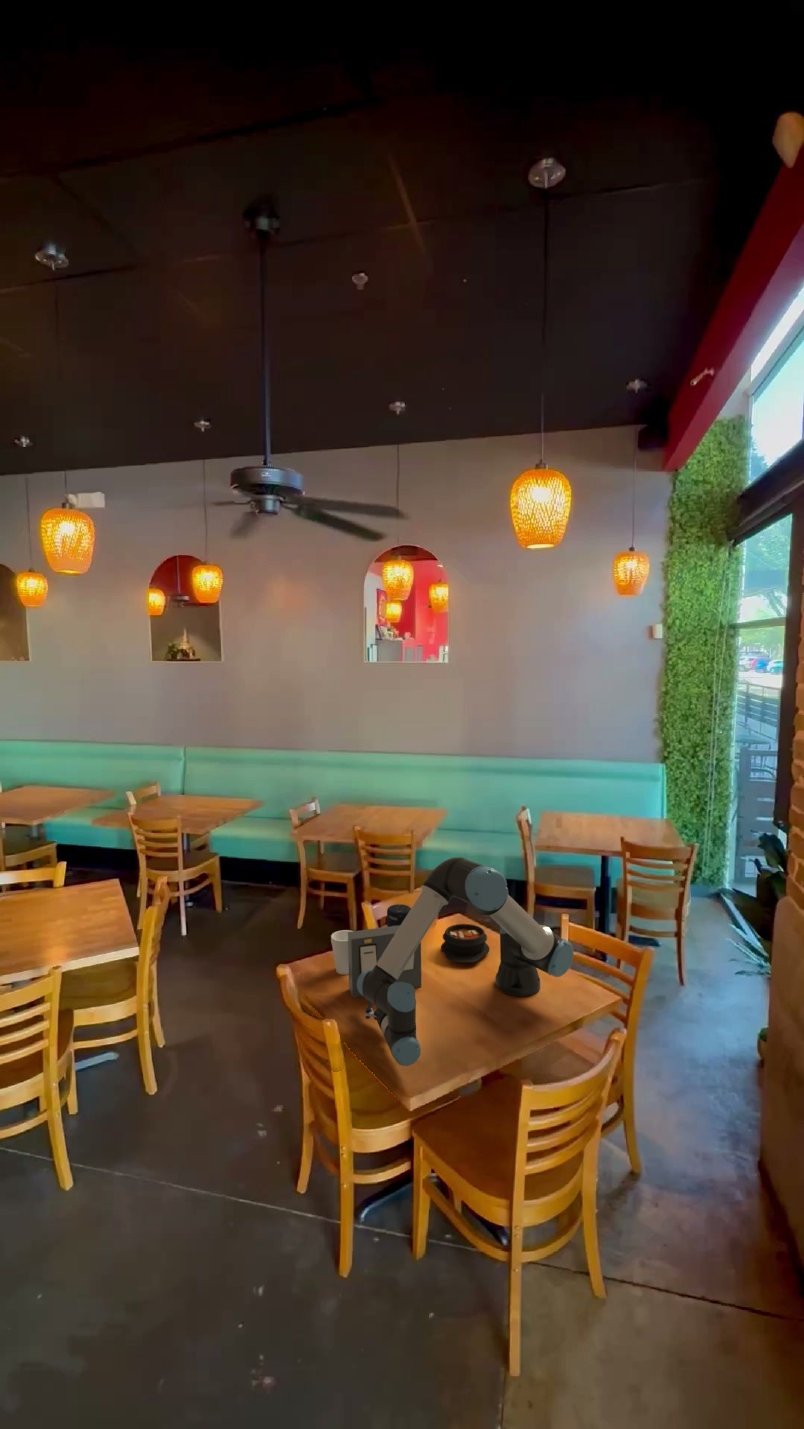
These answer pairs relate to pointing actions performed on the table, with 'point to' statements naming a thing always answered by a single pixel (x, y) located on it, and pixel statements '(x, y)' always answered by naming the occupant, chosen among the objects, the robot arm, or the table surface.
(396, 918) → the canister
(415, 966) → the switch panel
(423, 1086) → the table surface
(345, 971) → the foam cup
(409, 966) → the right rocker
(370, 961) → the left rocker
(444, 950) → the casserole
